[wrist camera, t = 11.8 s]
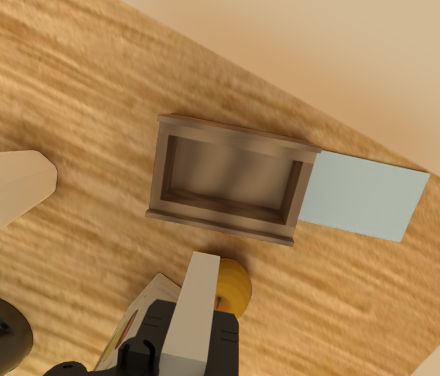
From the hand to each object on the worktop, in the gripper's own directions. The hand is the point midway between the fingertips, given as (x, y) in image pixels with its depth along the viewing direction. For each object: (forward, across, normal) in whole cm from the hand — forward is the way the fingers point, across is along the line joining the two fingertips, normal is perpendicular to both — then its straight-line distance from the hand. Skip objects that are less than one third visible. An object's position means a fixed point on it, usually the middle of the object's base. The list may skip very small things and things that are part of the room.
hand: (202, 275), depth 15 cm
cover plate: (+25, +18, +1) cm, 30 cm away
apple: (+25, +3, -15) cm, 29 cm away
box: (+24, +1, +1) cm, 24 cm away
